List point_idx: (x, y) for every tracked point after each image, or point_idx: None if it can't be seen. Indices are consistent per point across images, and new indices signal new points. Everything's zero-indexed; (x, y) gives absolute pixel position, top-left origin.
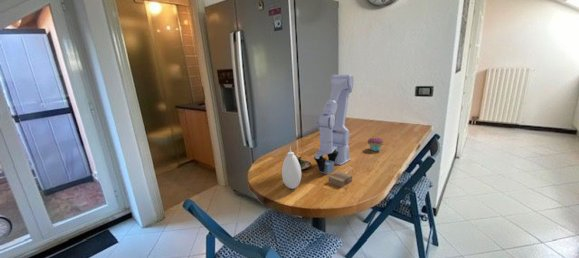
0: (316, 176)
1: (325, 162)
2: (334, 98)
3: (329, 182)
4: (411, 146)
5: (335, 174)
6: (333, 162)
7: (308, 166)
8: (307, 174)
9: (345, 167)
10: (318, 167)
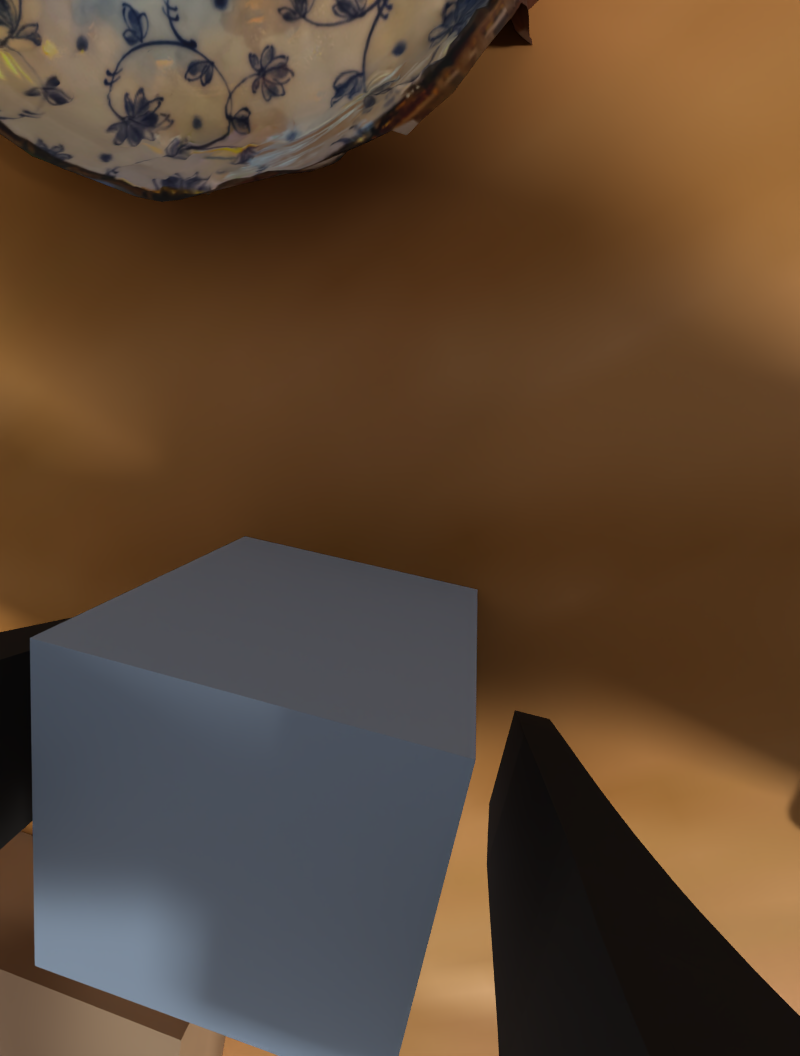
0: (50, 583)
1: (144, 863)
2: None
3: (9, 843)
4: None
5: (32, 1015)
6: (360, 1041)
7: (312, 126)
8: (12, 376)
9: (732, 945)
10: (28, 630)
